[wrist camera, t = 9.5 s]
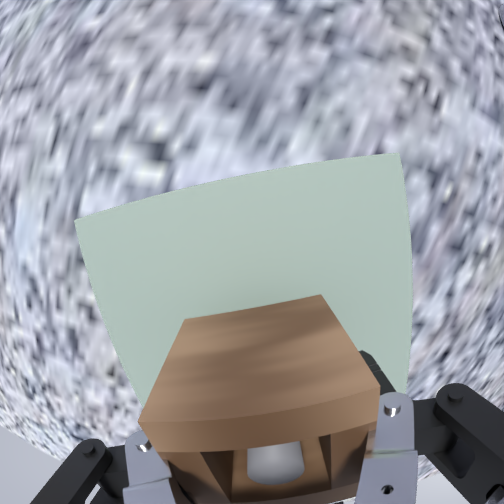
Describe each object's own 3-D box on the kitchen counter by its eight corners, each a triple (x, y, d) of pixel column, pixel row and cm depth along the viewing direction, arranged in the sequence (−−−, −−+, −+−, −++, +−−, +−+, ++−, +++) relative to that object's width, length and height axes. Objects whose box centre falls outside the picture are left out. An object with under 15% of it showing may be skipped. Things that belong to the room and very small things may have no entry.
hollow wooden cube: (320, 294, 11) (380, 386, 5) (330, 396, 12) (364, 493, 6) (184, 319, 11) (137, 421, 5) (218, 415, 12) (206, 515, 7)
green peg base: (385, 155, 13) (520, 133, 4) (394, 399, 16) (448, 490, 8) (88, 217, 14) (-44, 252, 5) (173, 438, 17) (147, 538, 8)
